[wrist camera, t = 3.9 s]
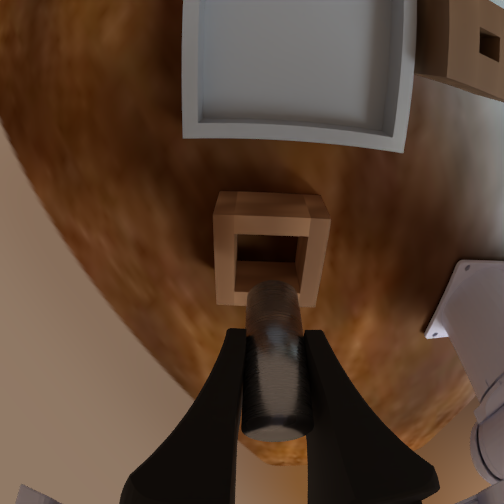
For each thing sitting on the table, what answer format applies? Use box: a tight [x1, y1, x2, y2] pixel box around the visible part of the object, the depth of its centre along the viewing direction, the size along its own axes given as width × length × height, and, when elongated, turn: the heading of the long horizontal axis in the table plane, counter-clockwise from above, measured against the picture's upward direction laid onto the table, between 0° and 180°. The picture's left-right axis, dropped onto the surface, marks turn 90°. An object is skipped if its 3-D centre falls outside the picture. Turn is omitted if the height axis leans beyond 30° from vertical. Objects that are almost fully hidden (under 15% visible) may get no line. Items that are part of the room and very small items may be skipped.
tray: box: [182, 0, 417, 153], centre depth 11 cm, size 10×10×2 cm
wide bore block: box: [213, 191, 331, 307], centre depth 17 cm, size 6×6×3 cm
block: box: [414, 0, 504, 102], centre depth 10 cm, size 5×5×4 cm
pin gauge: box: [241, 280, 314, 442], centre depth 11 cm, size 2×2×6 cm
